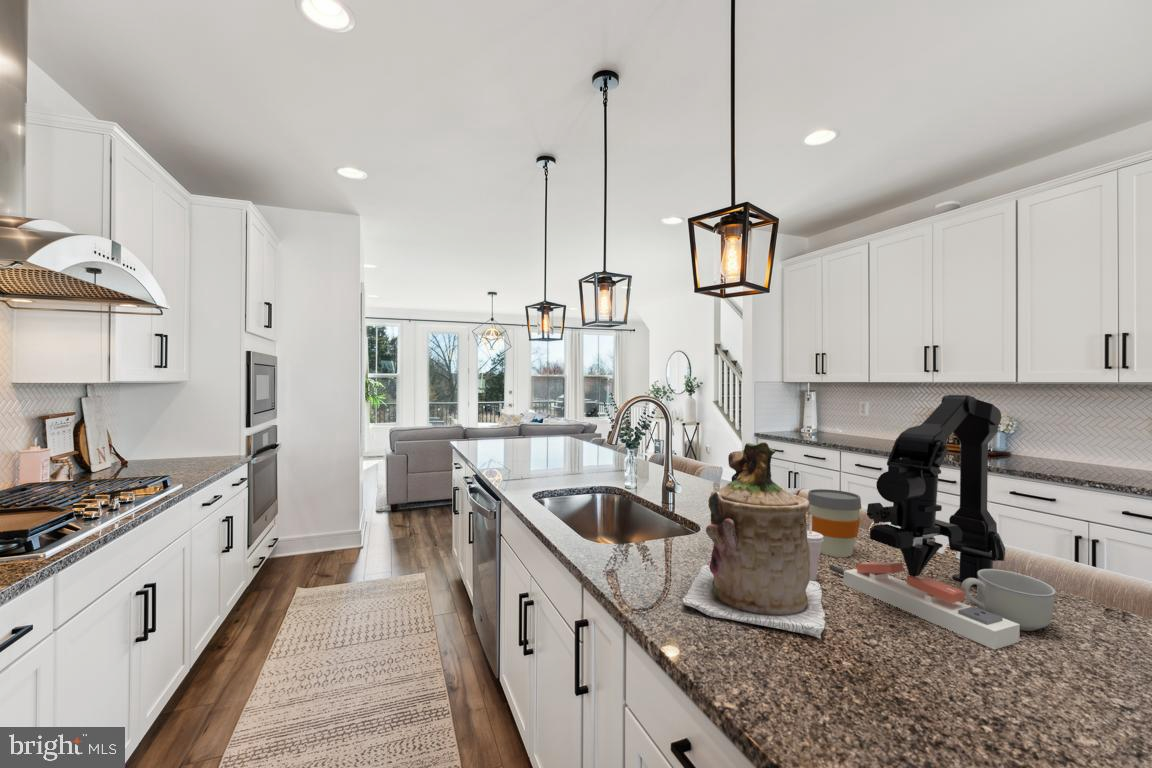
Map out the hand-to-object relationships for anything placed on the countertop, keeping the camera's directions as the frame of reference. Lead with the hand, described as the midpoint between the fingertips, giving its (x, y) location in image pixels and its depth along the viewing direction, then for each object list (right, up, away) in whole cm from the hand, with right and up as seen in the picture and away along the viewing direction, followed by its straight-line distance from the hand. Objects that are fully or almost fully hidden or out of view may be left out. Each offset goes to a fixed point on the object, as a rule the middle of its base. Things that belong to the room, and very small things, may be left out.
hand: (913, 576), depth 96 cm
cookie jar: (-30, -6, +2) cm, 31 cm away
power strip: (-1, -6, +1) cm, 6 cm away
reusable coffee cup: (+1, -6, +32) cm, 33 cm away
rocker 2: (+1, -1, -4) cm, 4 cm away
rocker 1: (-3, -1, +7) cm, 7 cm away
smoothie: (-14, -6, +14) cm, 21 cm away
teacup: (+13, -6, -6) cm, 15 cm away
